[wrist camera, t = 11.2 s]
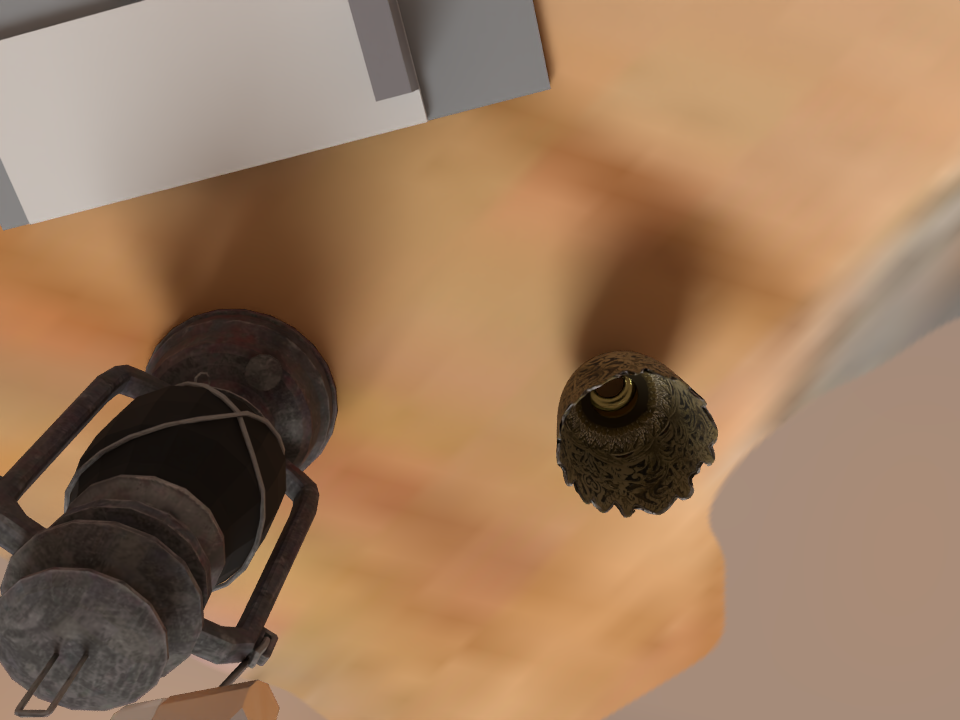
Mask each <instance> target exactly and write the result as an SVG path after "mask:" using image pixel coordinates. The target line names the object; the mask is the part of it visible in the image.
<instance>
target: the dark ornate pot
mask: <svg viewBox="0 0 960 720" xmlns="http://www.w3.org/2000/svg"><path fill="white" fill-rule="evenodd" d="M620 376H622V378H623V381H624V386H623V389H622V391H621V392H620V393H619V394H618V395H617V396H615V397H612V398H604V397H601V396H600V395H599V394H598V393H597V392H596V390H595V389H597V388H599V387H601V386H602V385H603V384H605V383H606V382H608V381H610V380H612V379H615V378H619V377H620ZM706 405H707V403H706V402H705V400H704V399H703V398H702V397H701V396H700V395H698V394H697V393H696V392H695V391H694V390H693V389H692V388H691V387H690V386H689V385H688V384H686V383H685V382H684V381H683V380H682V379H681V378H680V377H679V376H677V375H676V374H675V373H674V372H673V371H671V370H670V369H669V368H668V367H666V366H665V365H664V364H662V363H660V362H659V361H657V360H655V359H653V358H651V357H649V356H646V355H643V354H640V353H636V352H631V351H615V352H609V353H605V354H602V355H599V356H596V357H594V358H592V359H590V360H589V361H587V362H586V363H584V364H583V365H582V366H580V367H579V368H578V369H577V370H576V371H575V372H574V373H573V375H572V376H571V377H570V379H569V380H568V382H567V384H566V385H565V387H564V390H563V392H562V395H561V398H560V402H559V407H558V415H557V450H556V458H557V464H558V465H559V466H560V467H561V468H562V470H563V477H564V480H565V483H566V485H567V486H573V485H572V484H574V487H575V490H576V492H577V493H578V494H579V495H580V497H581V499H582V500H583V502H584V503H586V504H590V503H593V506H595V507H596V508H597V509H598V510H599V511H600V512H602V513H606V512H608V511H609V510H610V509H611V508H612V507H613V505H615V506H616V507H617V508H618V509H619V511H620V512H621V514H622V515H623V517H625V518H627V517H630V516H631V515H632V514H633V513H634V512H635V510H636V509H640V510H643V511H645V512H646V513H649V514H654V515H661V514H663V513H664V512H666V511H667V510H668V509H669V508H670V507H671V506H672V505H673V503H674V502H675V500H677V498H679V499H681V500H686V499H689V498H691V496H692V495H693V493H694V488H693V487H692V486H693V483H692V478H693V477H694V475H696V474H698V473H700V467H701V466H702V464H703V463H705V464H708V465H707V466H711V465H712V463H713V462H714V460H715V453H714V449H713V445H714V444H715V443H716V441H717V437H718V430H717V427H716V424H715V422H714V420H713V418H712V416H711V414H710V413H709V411H708V410H707V408H706ZM634 509H635V510H634ZM633 510H634V511H633Z"/></svg>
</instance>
